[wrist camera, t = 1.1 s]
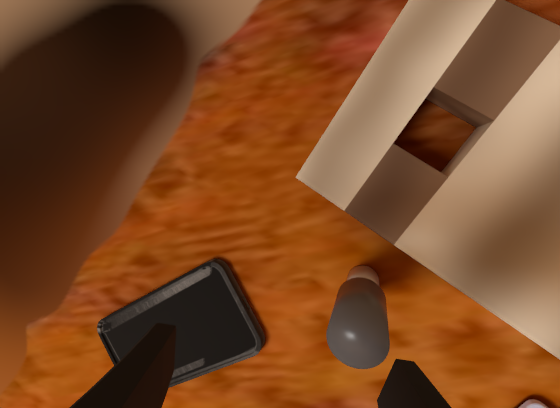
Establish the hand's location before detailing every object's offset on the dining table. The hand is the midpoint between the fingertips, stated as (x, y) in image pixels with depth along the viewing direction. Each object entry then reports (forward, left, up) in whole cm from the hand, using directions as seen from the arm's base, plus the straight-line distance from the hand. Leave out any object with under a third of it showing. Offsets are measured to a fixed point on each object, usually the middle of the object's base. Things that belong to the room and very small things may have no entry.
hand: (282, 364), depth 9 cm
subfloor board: (-3, -10, -11) cm, 15 cm away
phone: (+7, +13, -11) cm, 18 cm away
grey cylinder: (-2, 0, -11) cm, 11 cm away
